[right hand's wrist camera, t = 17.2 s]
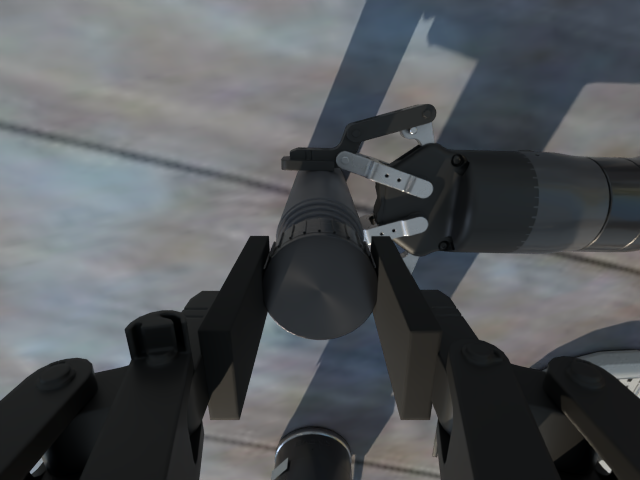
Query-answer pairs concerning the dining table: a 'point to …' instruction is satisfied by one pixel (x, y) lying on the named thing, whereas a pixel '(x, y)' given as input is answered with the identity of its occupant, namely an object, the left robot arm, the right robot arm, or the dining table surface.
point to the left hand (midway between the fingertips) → (284, 197)
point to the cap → (320, 280)
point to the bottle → (320, 200)
